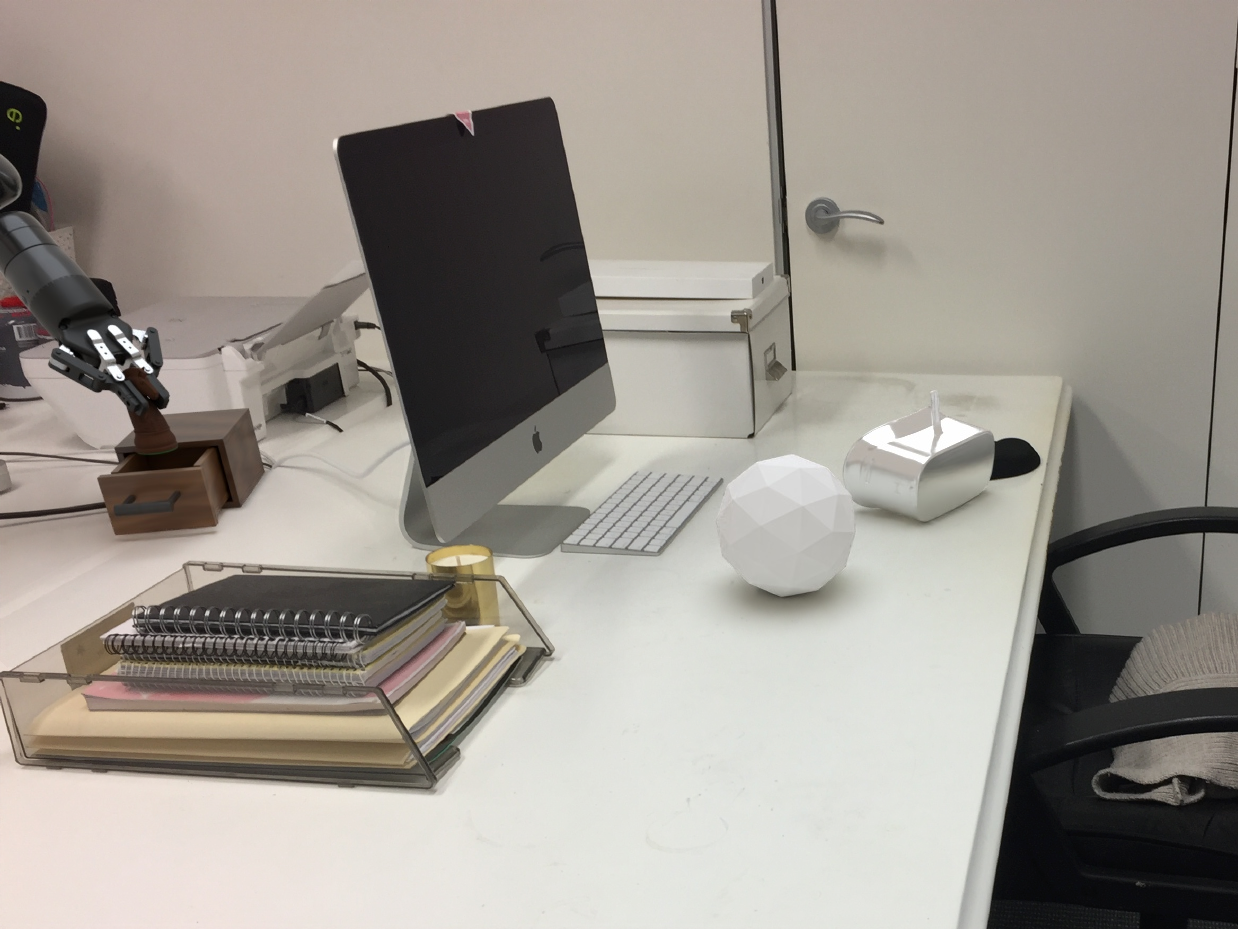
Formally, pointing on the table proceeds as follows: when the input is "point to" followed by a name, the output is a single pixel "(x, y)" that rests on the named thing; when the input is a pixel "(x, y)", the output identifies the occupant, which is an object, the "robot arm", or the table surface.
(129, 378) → the chess piece
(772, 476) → the geometric sphere
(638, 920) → the table surface
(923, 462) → the vr headset
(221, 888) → the table surface
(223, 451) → the cabinet
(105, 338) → the robot arm
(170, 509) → the drawer
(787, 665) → the table surface
